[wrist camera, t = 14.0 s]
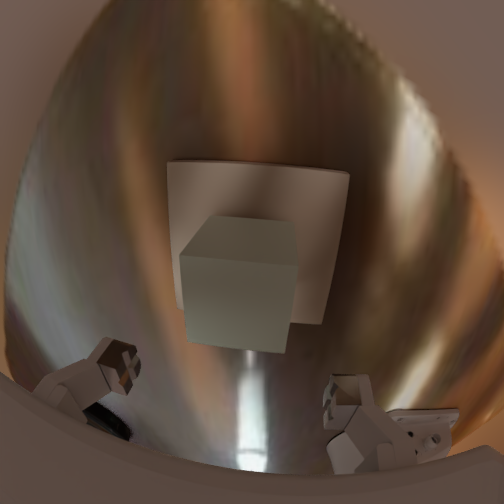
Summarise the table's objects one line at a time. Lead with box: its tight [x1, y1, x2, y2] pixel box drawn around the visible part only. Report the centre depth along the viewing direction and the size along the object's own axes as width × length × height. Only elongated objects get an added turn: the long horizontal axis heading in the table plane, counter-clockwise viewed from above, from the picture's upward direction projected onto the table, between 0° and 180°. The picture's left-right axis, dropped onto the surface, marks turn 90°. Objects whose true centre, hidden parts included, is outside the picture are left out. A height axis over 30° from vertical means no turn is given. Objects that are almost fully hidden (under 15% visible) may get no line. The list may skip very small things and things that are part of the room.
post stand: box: [167, 160, 350, 325], centre depth 17 cm, size 12×12×7 cm
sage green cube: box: [179, 215, 299, 353], centre depth 16 cm, size 5×5×6 cm
